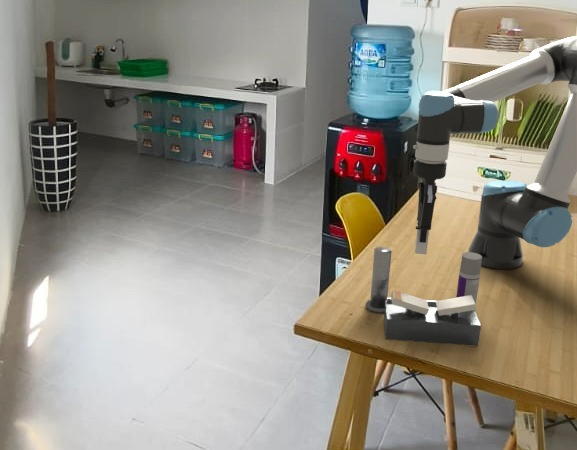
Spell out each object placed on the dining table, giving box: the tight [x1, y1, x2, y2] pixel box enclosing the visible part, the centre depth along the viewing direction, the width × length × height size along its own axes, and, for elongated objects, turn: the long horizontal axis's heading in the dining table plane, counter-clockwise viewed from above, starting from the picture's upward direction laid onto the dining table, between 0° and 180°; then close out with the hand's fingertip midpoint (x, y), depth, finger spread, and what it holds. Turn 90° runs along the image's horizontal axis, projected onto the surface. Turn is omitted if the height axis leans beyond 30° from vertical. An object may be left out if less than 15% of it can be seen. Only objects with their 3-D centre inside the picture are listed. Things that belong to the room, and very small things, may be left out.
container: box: [455, 251, 482, 306], centre depth 150 cm, size 5×5×15 cm
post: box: [365, 246, 393, 315], centre depth 152 cm, size 6×6×15 cm
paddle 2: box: [435, 295, 477, 316], centre depth 141 cm, size 8×4×1 cm, turn 84°
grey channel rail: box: [383, 297, 482, 347], centre depth 143 cm, size 20×9×6 cm, turn 85°
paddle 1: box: [390, 289, 429, 315], centre depth 141 cm, size 8×4×2 cm, turn 86°
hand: (420, 252), depth 158 cm, fingers closed
